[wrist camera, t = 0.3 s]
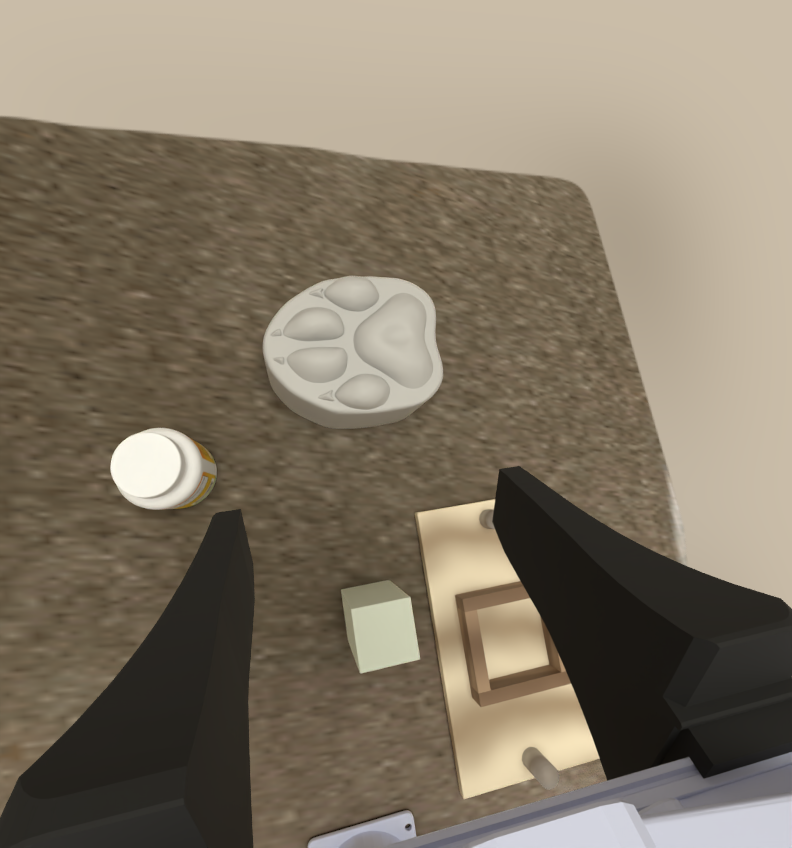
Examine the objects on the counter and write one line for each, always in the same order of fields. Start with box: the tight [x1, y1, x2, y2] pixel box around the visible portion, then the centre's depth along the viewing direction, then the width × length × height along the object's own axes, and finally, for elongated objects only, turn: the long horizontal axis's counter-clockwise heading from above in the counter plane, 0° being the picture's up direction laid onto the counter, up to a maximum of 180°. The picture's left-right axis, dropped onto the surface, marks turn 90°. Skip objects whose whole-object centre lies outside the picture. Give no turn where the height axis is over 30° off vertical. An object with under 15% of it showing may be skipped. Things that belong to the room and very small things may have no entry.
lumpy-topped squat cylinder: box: [263, 276, 443, 429], centre depth 39 cm, size 10×13×9 cm
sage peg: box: [341, 580, 420, 673], centre depth 37 cm, size 4×4×8 cm
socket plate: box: [415, 499, 599, 799], centre depth 40 cm, size 22×12×4 cm, turn 9°
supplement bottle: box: [111, 428, 217, 510], centre depth 35 cm, size 5×5×10 cm
